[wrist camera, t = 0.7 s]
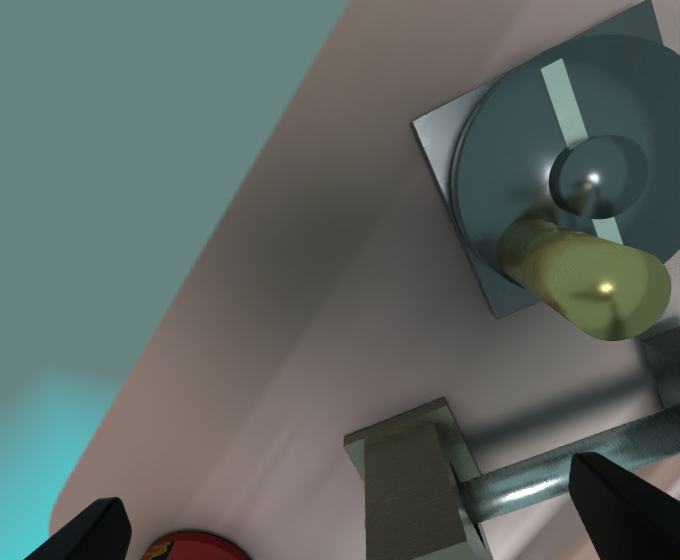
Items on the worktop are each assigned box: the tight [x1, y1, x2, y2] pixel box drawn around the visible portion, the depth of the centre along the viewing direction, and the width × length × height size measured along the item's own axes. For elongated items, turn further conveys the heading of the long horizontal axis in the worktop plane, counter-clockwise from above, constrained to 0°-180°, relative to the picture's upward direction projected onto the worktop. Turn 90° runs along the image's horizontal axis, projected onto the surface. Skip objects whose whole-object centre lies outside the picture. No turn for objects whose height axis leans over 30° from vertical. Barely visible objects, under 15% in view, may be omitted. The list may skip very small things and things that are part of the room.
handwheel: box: [451, 34, 680, 341], centre depth 14 cm, size 10×10×8 cm
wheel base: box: [410, 0, 663, 319], centre depth 18 cm, size 10×10×1 cm
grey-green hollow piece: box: [344, 397, 494, 560], centre depth 20 cm, size 7×6×8 cm
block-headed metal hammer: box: [365, 326, 680, 529], centre depth 19 cm, size 6×18×6 cm, turn 116°
